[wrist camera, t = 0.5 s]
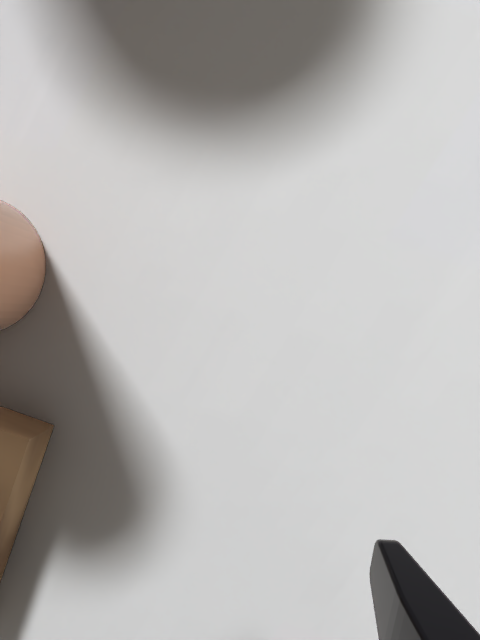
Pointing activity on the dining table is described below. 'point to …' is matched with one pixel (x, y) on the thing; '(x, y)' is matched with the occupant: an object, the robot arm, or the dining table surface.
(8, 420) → the base board
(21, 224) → the peach domed cylinder
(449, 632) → the robot arm
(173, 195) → the dining table surface
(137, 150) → the dining table surface
